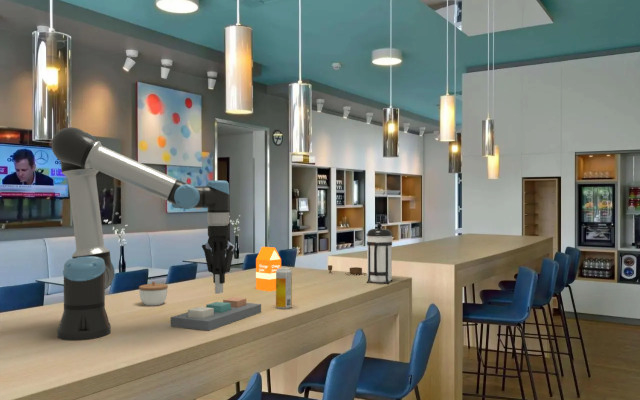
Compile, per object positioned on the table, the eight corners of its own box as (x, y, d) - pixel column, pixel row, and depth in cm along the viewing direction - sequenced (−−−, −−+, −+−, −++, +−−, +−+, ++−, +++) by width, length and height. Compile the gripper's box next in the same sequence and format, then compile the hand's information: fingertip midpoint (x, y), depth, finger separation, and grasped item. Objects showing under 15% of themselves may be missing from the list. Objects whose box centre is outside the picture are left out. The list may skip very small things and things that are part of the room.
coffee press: (357, 282, 274) (357, 223, 274) (384, 280, 281) (384, 222, 281) (374, 287, 259) (374, 224, 259) (403, 285, 265) (403, 223, 266)
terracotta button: (237, 309, 194) (237, 301, 194) (223, 308, 197) (223, 300, 197) (246, 306, 200) (246, 298, 200) (232, 305, 202) (232, 297, 202)
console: (208, 330, 172) (208, 321, 172) (170, 326, 178) (170, 317, 178) (261, 312, 201) (261, 304, 201) (227, 308, 207) (227, 301, 207)
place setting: (354, 279, 290) (354, 268, 290) (325, 276, 304) (325, 265, 304) (373, 276, 304) (373, 265, 304) (345, 273, 317) (345, 263, 317)
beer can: (283, 305, 213) (283, 267, 213) (295, 307, 209) (295, 268, 210) (272, 308, 209) (272, 268, 209) (284, 310, 205) (284, 270, 205)
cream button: (202, 320, 176) (202, 311, 176) (187, 319, 179) (187, 309, 179) (213, 317, 182) (213, 308, 182) (199, 315, 184) (199, 306, 184)
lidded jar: (138, 308, 208) (138, 284, 208) (139, 303, 218) (139, 280, 218) (167, 307, 211) (167, 283, 211) (167, 302, 221) (167, 279, 221)
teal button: (220, 314, 185) (220, 306, 185) (206, 313, 188) (206, 304, 188) (230, 311, 191) (230, 303, 191) (216, 310, 193) (216, 301, 193)
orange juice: (267, 288, 256) (267, 246, 256) (281, 290, 250) (281, 247, 250) (255, 290, 250) (255, 247, 250) (269, 292, 244) (269, 248, 244)
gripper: (240, 224, 190) (241, 292, 190) (209, 224, 195) (210, 290, 195) (228, 225, 183) (228, 295, 183) (196, 225, 189) (197, 293, 189)
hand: (219, 292), depth 189 cm, fingers closed
